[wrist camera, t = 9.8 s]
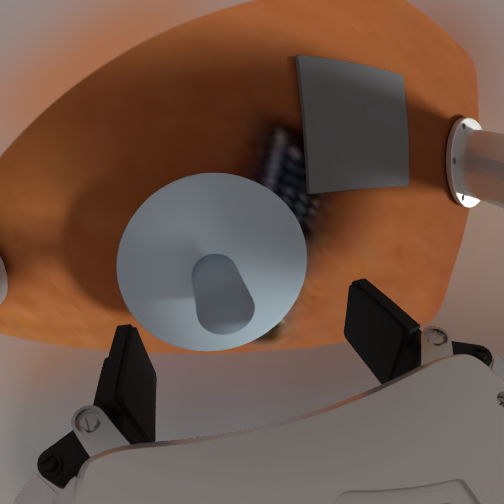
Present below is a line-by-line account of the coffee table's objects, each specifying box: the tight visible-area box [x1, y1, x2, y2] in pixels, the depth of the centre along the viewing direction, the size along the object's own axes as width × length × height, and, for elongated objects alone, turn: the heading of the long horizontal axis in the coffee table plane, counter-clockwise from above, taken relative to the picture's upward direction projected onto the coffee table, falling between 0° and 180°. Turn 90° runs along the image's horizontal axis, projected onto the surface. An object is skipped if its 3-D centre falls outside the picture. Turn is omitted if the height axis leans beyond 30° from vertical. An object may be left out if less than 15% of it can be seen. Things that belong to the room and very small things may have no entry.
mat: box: [295, 55, 409, 194], centre depth 21 cm, size 12×12×1 cm
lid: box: [116, 173, 307, 351], centre depth 15 cm, size 12×12×5 cm
